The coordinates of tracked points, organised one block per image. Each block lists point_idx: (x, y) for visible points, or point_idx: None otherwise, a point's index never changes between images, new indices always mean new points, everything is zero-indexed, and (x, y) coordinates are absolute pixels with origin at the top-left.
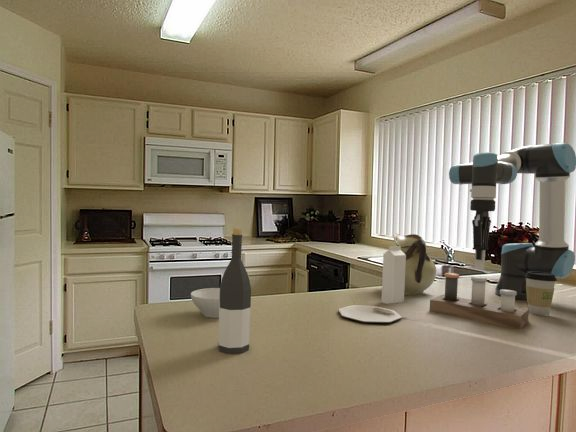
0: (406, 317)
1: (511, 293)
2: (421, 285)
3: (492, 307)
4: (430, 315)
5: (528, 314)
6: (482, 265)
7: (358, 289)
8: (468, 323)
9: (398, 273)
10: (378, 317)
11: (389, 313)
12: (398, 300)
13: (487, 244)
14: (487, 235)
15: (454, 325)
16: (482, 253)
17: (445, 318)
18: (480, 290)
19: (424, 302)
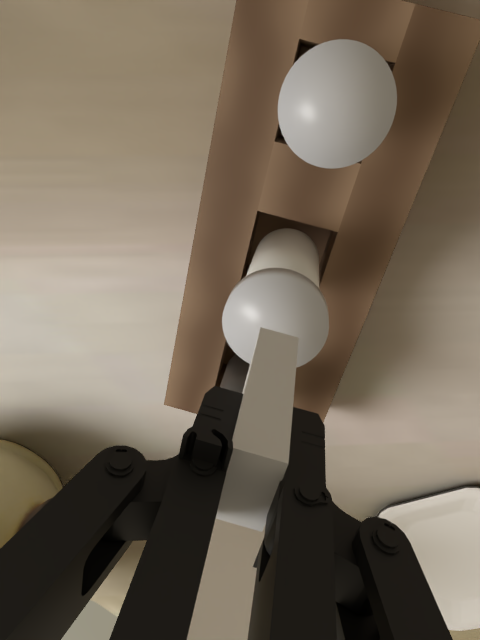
0: (417, 467)
1: (394, 82)
2: (33, 478)
3: (322, 186)
4: (338, 401)
5: None
6: (295, 363)
7: (104, 599)
8: (393, 269)
9: (230, 624)
10: (470, 536)
11: (414, 516)
12: None
13: (86, 474)
14: (17, 630)
15: (458, 319)
16: (287, 447)
17: (355, 352)
18: (318, 281)
19: (134, 427)
